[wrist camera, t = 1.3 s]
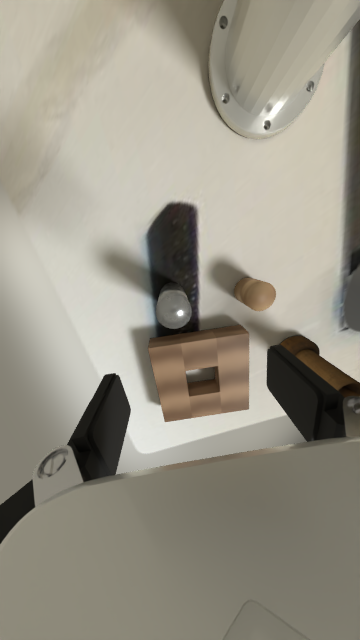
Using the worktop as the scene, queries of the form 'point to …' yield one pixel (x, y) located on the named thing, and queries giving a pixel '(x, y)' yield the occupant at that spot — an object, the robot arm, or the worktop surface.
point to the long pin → (173, 306)
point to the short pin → (255, 293)
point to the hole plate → (195, 353)
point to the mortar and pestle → (321, 365)
